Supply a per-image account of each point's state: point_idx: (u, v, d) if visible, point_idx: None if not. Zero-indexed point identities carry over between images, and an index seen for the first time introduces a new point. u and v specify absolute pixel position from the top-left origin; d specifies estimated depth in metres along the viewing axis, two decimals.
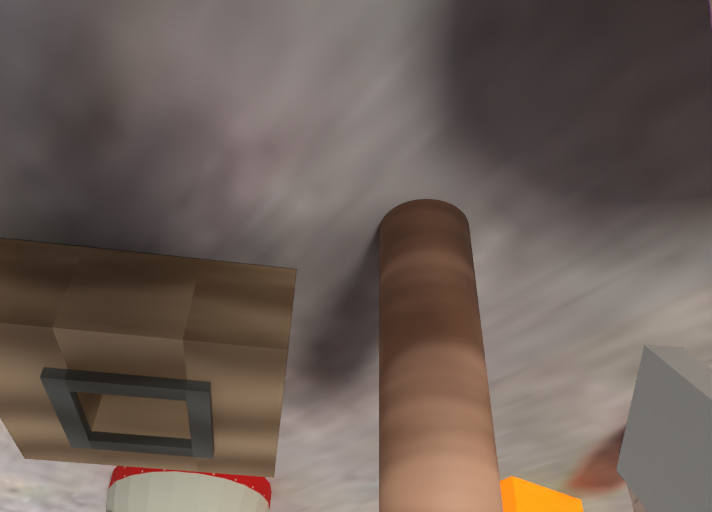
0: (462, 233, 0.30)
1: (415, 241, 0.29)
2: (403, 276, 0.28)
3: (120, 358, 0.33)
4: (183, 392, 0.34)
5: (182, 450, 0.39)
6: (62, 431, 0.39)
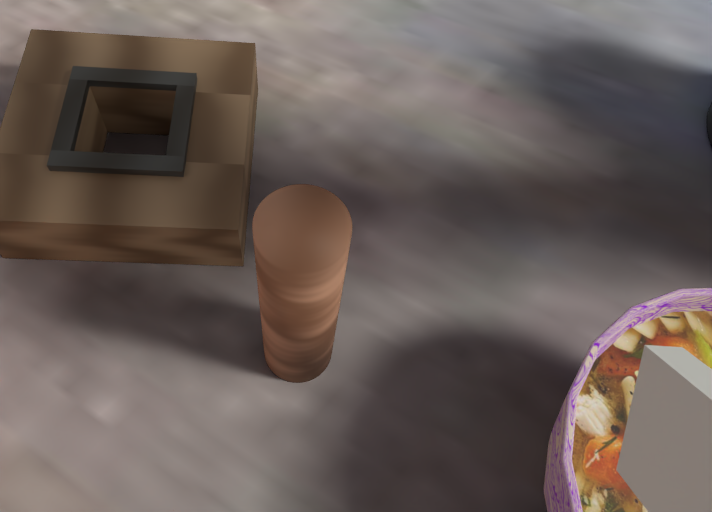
0: (324, 363, 0.41)
1: None
2: None
3: (213, 125, 0.45)
4: (180, 155, 0.43)
5: (65, 143, 0.42)
6: (88, 66, 0.46)
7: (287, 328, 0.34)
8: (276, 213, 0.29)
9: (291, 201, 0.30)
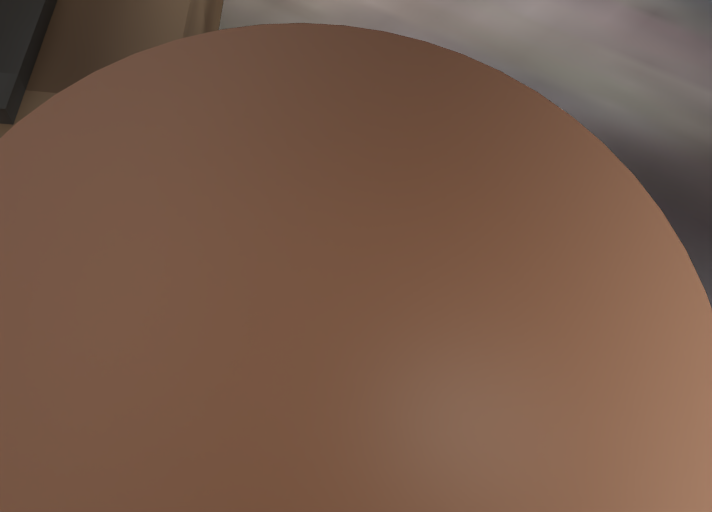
0: None
1: None
2: None
3: (107, 15, 0.19)
4: (8, 70, 0.17)
5: None
6: None
7: None
8: (121, 207, 0.04)
9: (252, 122, 0.04)
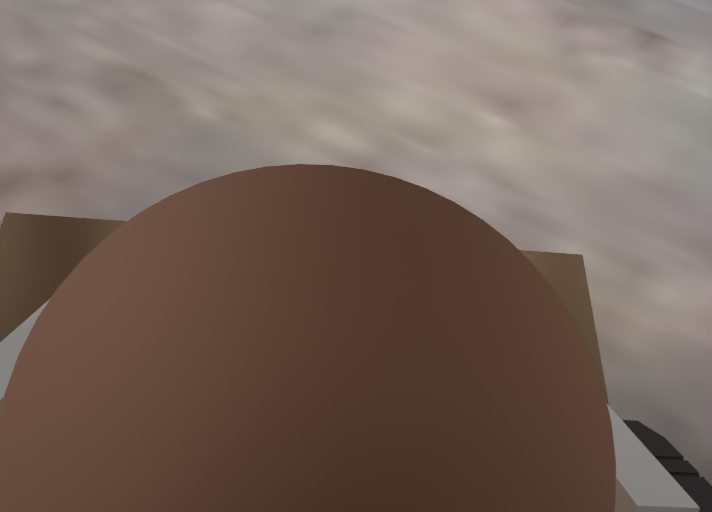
0: None
1: None
2: None
3: None
4: None
5: None
6: None
7: None
8: (164, 327, 0.05)
9: (262, 252, 0.05)
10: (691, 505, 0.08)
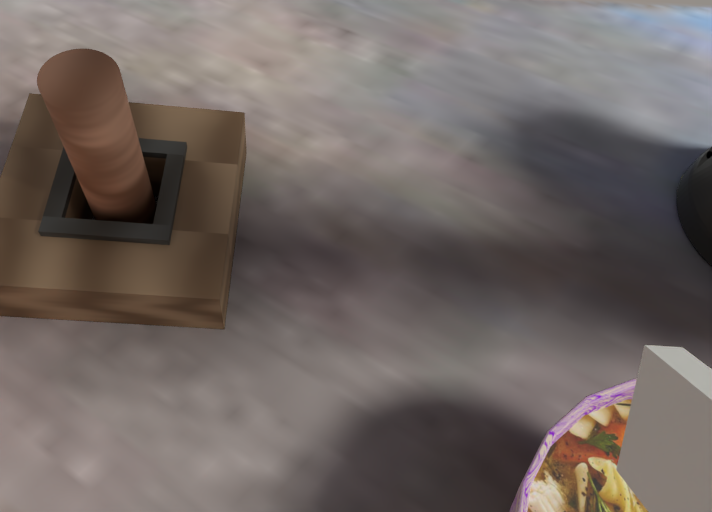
0: None
1: None
2: None
3: (200, 193, 0.47)
4: (167, 223, 0.45)
5: (57, 209, 0.44)
6: None
7: (89, 180, 0.42)
8: (59, 67, 0.37)
9: (74, 59, 0.37)
10: None
